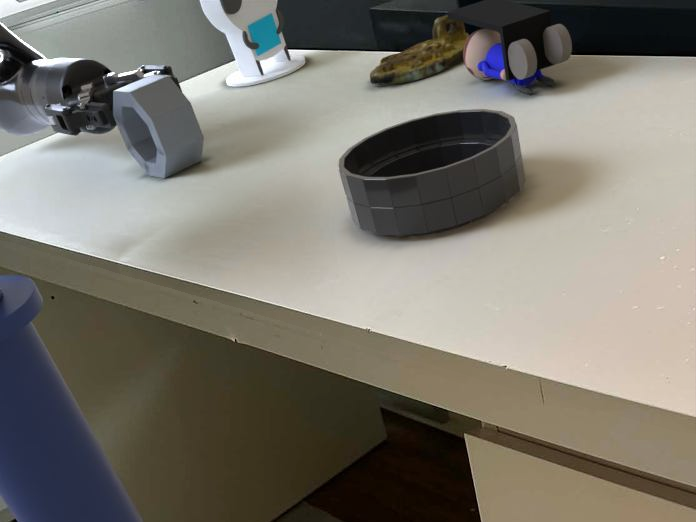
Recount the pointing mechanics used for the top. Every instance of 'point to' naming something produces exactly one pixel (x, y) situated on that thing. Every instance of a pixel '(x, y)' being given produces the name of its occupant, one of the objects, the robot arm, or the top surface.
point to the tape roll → (158, 125)
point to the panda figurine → (253, 39)
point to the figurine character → (512, 42)
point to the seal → (424, 55)
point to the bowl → (433, 172)
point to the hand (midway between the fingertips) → (143, 101)
